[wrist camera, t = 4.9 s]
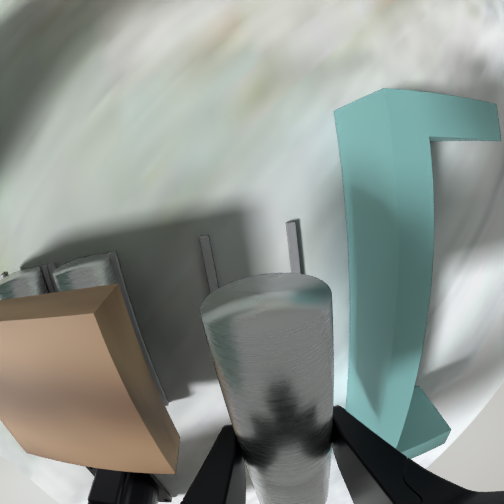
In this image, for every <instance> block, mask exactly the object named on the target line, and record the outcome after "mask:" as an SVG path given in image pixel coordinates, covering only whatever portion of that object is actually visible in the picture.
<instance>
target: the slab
mask: <svg viewBox="0 0 504 504" xmlns="http://www.w3.org/2000/svg"><path fill="white" fill-rule="evenodd" d="M0 420H1V421H2V422H3V424H4V425H5V426H6V428H7V429H8V430H9V432H10V433H11V434H12V436H13V437H14V438H15V439H16V441H17V442H18V443H19V444H20V445H21V447H22V448H23V449H24V450H25V451H26V453H29V454H33V455H36V456H40V457H44V458H48V459H52V460H56V461H61V462H66V463H70V464H76V465H81V466H87V467H93V468H100V469H107V470H115V471H125V472H137V473H153V474H176V467H177V459H178V451H179V443H180V436H179V434H178V432H177V430H176V428H175V426H174V424H173V422H172V420H171V418H170V416H169V414H168V412H167V409H166V407H165V405H164V403H163V401H162V399H161V396H160V394H159V392H158V390H157V387H156V385H155V383H154V380H153V378H152V375H151V373H150V371H149V368H148V366H147V363H146V361H145V358H144V356H143V353H142V350H141V348H140V345H139V342H138V340H137V337H136V334H135V331H134V329H133V326H132V323H131V320H130V317H129V314H128V311H127V308H126V305H125V302H124V299H123V296H122V292H121V289H120V286H119V283H117V284H110V285H104V286H97V287H90V288H83V289H76V290H69V291H62V292H55V293H48V294H41V295H34V296H26V297H19V298H12V299H4V300H0Z"/></svg>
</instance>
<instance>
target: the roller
mask: <svg viewBox="0 0 504 504" xmlns="http://www.w3.org/2000/svg"><path fill="white" fill-rule="evenodd" d="M200 314H201V318H202V322H203V326H204V330H205V333H206V337H207V341H208V345H209V348H210V352H211V356H212V359H213V363H214V366H215V370H216V373H217V377H218V380H219V383H220V387H221V390H222V394H223V397H224V400H225V403H226V407H227V410H228V413H229V416H230V419H231V422H232V426H233V429H234V432H235V435H236V438H237V441H238V444H239V447H240V450H241V452H242V455H243V458H244V461H245V464H246V467H247V470H248V472H249V475H250V478H251V481H252V483H253V486H254V489H255V491H256V494H257V497H258V499H259V502H260V504H325V502H326V500H327V496H328V487H329V476H330V462H331V447H332V426H333V388H334V352H333V313H332V293H331V289H330V288H329V286H328V285H327V284H326V283H325V282H323V281H322V280H320V279H318V278H316V277H313V276H309V275H305V274H298V273H269V274H261V275H255V276H251V277H246V278H243V279H239V280H236V281H234V282H231V283H228V284H226V285H224V286H222V287H220V288H218V289H217V290H215V291H214V292H212V293H211V294H210V295H208V296H207V297H206V298H205V300H204V301H203V303H202V304H201V307H200Z"/></svg>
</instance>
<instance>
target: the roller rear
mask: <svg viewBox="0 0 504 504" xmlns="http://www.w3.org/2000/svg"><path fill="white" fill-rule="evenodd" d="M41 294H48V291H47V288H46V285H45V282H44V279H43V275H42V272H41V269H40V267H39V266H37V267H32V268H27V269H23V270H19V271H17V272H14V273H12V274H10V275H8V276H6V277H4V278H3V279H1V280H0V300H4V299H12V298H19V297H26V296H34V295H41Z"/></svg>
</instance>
